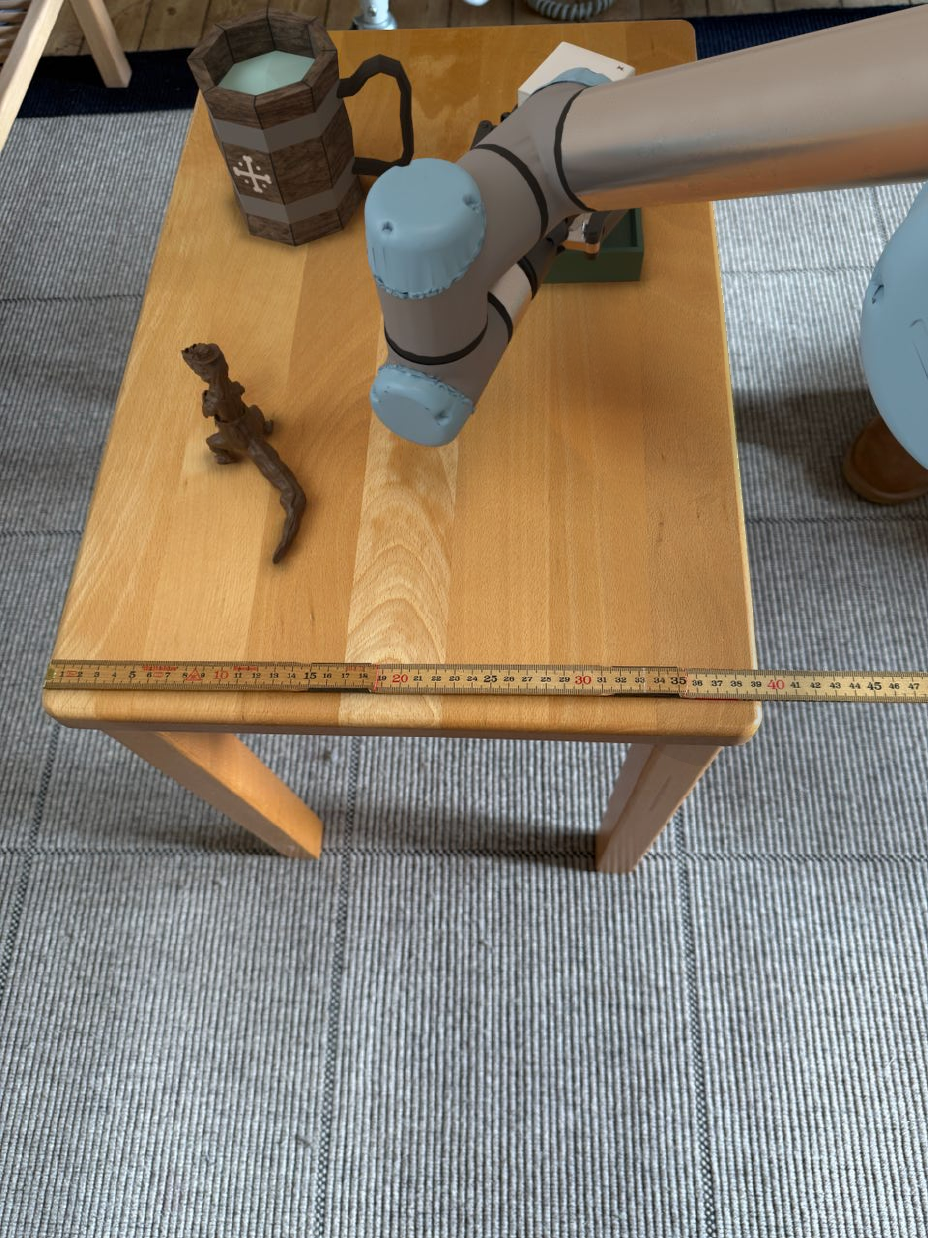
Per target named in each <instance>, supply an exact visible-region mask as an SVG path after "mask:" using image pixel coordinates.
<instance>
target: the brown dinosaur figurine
mask: <svg viewBox="0 0 928 1238" xmlns="http://www.w3.org/2000/svg"><path fill="white" fill-rule="evenodd" d="M180 353H181V355H182V359H183V361H184V362H185V363H186V365H187V366H189V368H190V370H192V371H193V373H194V374H195V375H196V376H199V377H200V378H201V381H202V382H203V383H206V384H208V389H204V390H203V392H202V393H201V401H202V404H201V413H202V416H203V417H204V418H205V419H208V418H209V417H213V421H214V427H215V428H218V432H215V433H212V434H211V435H209V436H207V438H205V444H207V446H208V449H209V450H210V451H211V452H212V453H214V454H215V455H214V458H216V459H217V461H216V464H218V465H222V464H227V463H234V462H235V457H234V456H233V454H232V453H231V452H230V451H232V450H236V451H238V452H242V453H245V454H246V455H247V456H248V457H249V459H250V460H251V462H252V463H253V464H254V466H256V468H257V469H258V471H259V472H260V474H261V475H262V476H263V477H264V478H265V479H266V480H267V481H268V482H269V483H270V484H271V486H272V487H273V488H274V489H277V490H279V492H280V496H279V504H280V505H281V507H283V509H284V511H285V513H286V517H285V518H284V519H285V520H284V524H283V527H282V534H281V538H280V542H279V543H278V546H277V547H276V548H275V551H274V554H273V555H272V559H271V562H272V564H273V565H277V564H279V563H280V562H282V559H283V557H284V556H285V554H286V552H287V551H288V550H289V548H290V546H291V544H292V542H293V540H294V538H295V537H296V535H297V534H298V532H299V528H300V521H301V517H302V513H303V510H304V508H305V506H306V504H307V495H306V493H305V491H304V489H303V487H302V485H300V484H299V481H298V478H297V477H296V475H295V474H294V472H293V471H292V470H291V469H290V468H289V466H288V465H287V464H286V463H285V462H284V461H283V460H282V459H281V458H280V454H279V452H278V451H277V450H276V449H275V448H274V447H273V446H272V445H271V444H270V443H269V442H268V441H266V440H265V439H264V437H263V435H262V434H264V435H266V434H270V433H272V431H273V425H274V420H273V419H269V421H268V420H266V418H265V415H264V413H263V411H262V409H261V408H260V407H259V406H258V405H257V404H252V405H250V406H248V405H247V404H246V403H245V402H244V400H243V398H242V395H243V394H245V393H246V387H245V386H243V385H242V384H241V383H240V382H239V381H238V380H234V381H232V380H231V378H230V377H229V371H230V366H229V364H228V362H227V359H226V357H225V354H224V353H223V350H221V348H220V346H219V345H218V344H217V343H215V342H211V343H207V344H206V343H204V342H198V343H195V342H194V343H192V345H190V346H189V347H185V348H184V349H181V350H180Z"/></svg>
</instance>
